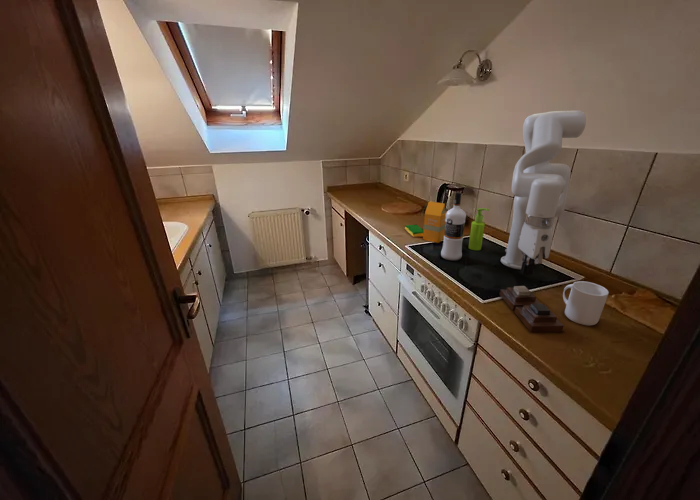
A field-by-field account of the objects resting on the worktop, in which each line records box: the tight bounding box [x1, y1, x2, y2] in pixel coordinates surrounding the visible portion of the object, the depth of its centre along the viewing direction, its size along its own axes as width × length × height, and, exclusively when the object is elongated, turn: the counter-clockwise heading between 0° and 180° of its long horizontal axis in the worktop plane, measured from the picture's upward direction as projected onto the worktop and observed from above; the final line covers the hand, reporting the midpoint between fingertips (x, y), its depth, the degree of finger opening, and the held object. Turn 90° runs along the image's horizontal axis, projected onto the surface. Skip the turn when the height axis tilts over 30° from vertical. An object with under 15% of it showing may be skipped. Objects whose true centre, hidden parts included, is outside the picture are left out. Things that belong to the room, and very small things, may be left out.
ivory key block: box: [498, 286, 542, 312], centre depth 101 cm, size 10×9×4 cm
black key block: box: [514, 305, 565, 333], centre depth 91 cm, size 10×9×4 cm
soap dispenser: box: [467, 207, 490, 251], centre depth 142 cm, size 6×7×20 cm
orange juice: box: [422, 201, 447, 244], centre depth 155 cm, size 8×9×20 cm
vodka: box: [440, 191, 467, 262], centre depth 132 cm, size 9×9×30 cm
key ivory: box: [513, 285, 531, 295], centre depth 100 cm, size 4×4×2 cm
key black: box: [530, 303, 551, 315], centre depth 90 cm, size 4×4×2 cm
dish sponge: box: [404, 224, 424, 238], centre depth 169 cm, size 7×14×2 cm, turn 9°
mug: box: [562, 280, 610, 326], centre depth 93 cm, size 9×12×11 cm
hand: (526, 273), depth 97 cm, fingers closed
